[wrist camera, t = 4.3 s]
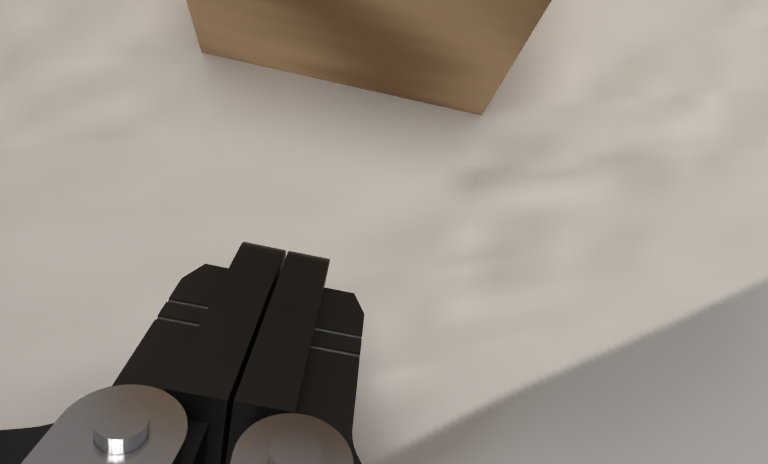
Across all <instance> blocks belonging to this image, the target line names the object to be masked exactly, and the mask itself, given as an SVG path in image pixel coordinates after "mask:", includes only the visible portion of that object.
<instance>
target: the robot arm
mask: <svg viewBox="0 0 768 464" xmlns="http://www.w3.org/2000/svg"><path fill="white" fill-rule="evenodd" d="M285 258H286V259H285ZM329 261H330V259H326V258H321V257H316V256H311V255H306V254H302V253H297V252H292V251H289V252H288V254H287V256H286V251H285V250H281V249H276V248H271V247H266V246H262V245H257V244H252V243H247V242H243V243H242V244H241V246H240V248H239V250H238V252H237V254H236V255H235V257H234V259H233V261H232V263H231V265H230V267H229V269H228V268H223V267H218V266H213V265H208V264H204V265H203V266H201V267H199V268H198V269H196V270H195V271H193V272H191V273H190V274H188V275H186V276H185V277H183V278H182V279H181V280H180V282H179V283H178V285H177V287H176V288H175V290H174V291H173V293H172V294H171V296H170V297H169V301H168V302H166V304H165V305H164V307H163V308H162V310H161V311H160V313H159V314H158V318H157V320H156V319H155V321H154V322H153V324H152V325H151V327H150V328H149V330H148V331H147V333H146V334H145V336H144V337H143V339H142V341H141V342H140V344H139V345H138V347H137V348H136V350H135V351H134V353H133V354H132V356H131V358H130V359H129V361H128V362H127V364H126V365H125V367H124V368H123V370H122V371H121V373H120V375H119V376H118V378H117V379H116V381H115V382H114V384H113V385H112V387H107V388H104V389H101V390H97V391H95V392H93V393H90V394H88V395H86V396H85V397H83V398H81V399H79V400H78V401H76V402H75V403H74V404H72V405H71V406H70V407H69V408H68V409H67V410H66V411H65V412H64V413H63V414H62V415H61V416H60V417H59V418H58V420H57V421H56V422H55V423H53V424H49V425H44V426H39V427H32V428H23V429H11V430H0V464H362V463H361V462H360V460H359V458H358V456H357V454H356V451H355V449H354V445H353V440H352V426H353V417H354V407H355V397H356V388H357V378H358V368H359V359H360V358H359V356H360V349H361V337H362V330H363V320H364V313H363V311H362V309H361V307H360V305H359V303H358V300H357V298H356V296H355V294H354V293H349V292H344V291H339V290H334V289H329V288H324V286H325V282H326V277H327V272H328V267H329Z"/></svg>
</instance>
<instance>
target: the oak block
mask: <svg viewBox="0 0 768 464" xmlns="http://www.w3.org/2000/svg"><path fill="white" fill-rule="evenodd" d="M186 1H187V4H188V8H189V11H190V14H191V17H192V21H193V24H194V27H195V31H196V34H197V37H198V41H199V44H200V47H201V51H202V52H203V53H207V54H212V55H216V56H221V57H225V58H230V59H234V60H238V61H243V62H247V63H252V64H256V65H261V66H265V67H269V68H274V69H278V70H283V71H287V72H292V73H296V74H300V75H305V76H309V77H314V78H318V79H323V80H327V81H331V82H336V83H340V84H345V85H349V86H354V87H358V88H363V89H367V90H371V91H376V92H380V93H385V94H389V95H394V96H398V97H402V98H407V99H411V100H416V101H420V102H425V103H429V104H433V105H438V106H442V107H447V108H451V109H456V110H460V111H464V112H469V113H473V114H478V115H482V114H483V112H484V110H485V109H486V107H487V105H488V104H489V102H490V100H491V99H492V97H493V96H494V94H495V92H496V91H497V89H498V87H499V86H500V84H501V82H502V81H503V79H504V77H505V76H506V74H507V73H508V71H509V69H510V68H511V66H512V64H513V63H514V61H515V59H516V58H517V56H518V54H519V53H520V51H521V49H522V48H523V46H524V45H525V43H526V41H527V40H528V38H529V36H530V35H531V33H532V31H533V30H534V28H535V26H536V25H537V23H538V22H539V20H540V18H541V17H542V15H543V13H544V12H545V10H546V8H547V7H548V5H549V3H550V2H551V0H186Z"/></svg>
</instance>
